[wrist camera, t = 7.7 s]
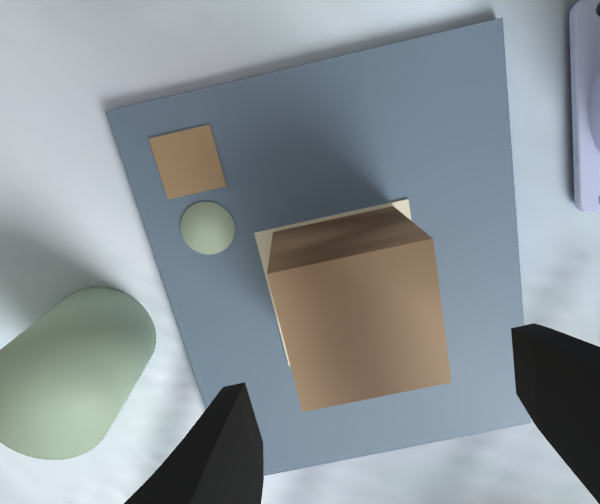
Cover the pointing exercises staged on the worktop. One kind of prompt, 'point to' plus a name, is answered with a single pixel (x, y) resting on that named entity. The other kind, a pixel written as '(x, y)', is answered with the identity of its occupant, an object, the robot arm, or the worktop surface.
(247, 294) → the board
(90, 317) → the sage drum
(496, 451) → the worktop surface
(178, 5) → the worktop surface
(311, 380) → the walnut block
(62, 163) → the worktop surface
